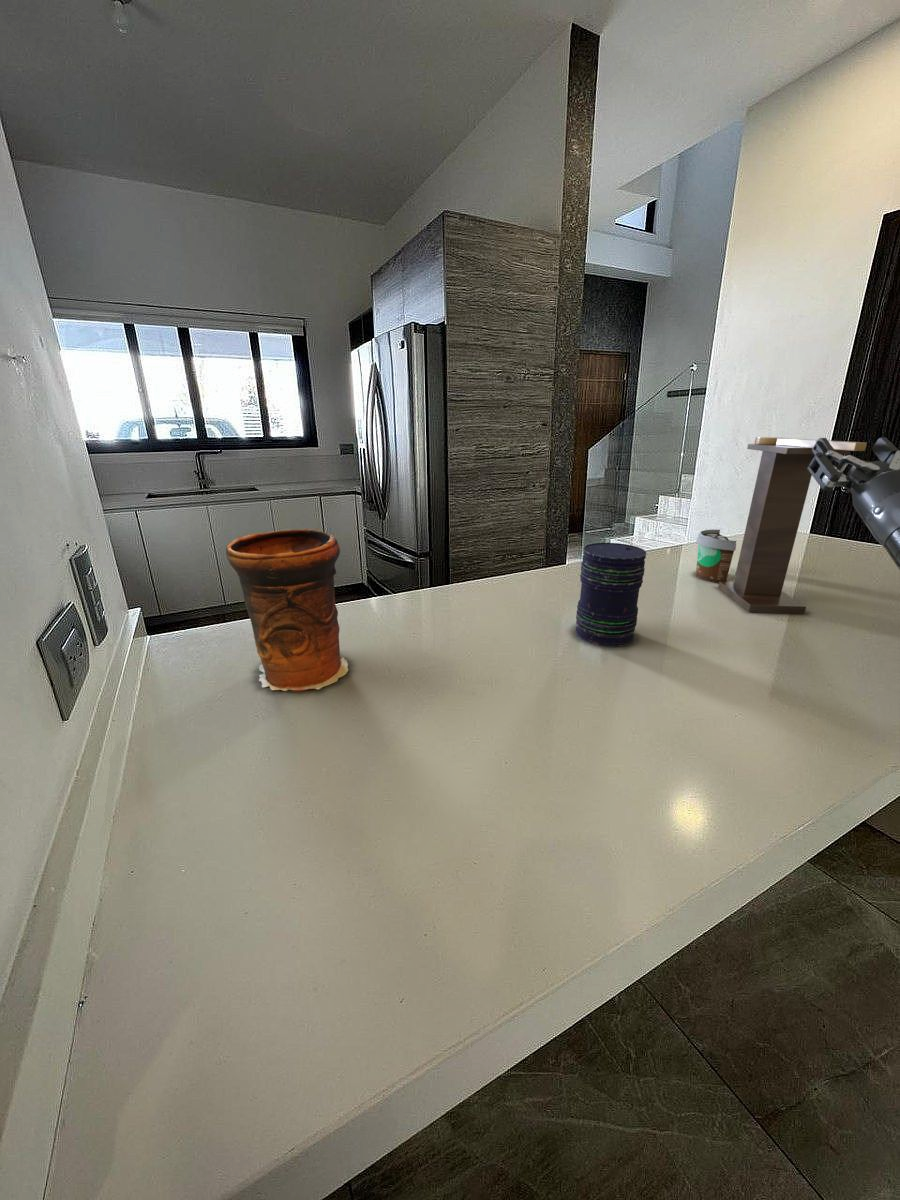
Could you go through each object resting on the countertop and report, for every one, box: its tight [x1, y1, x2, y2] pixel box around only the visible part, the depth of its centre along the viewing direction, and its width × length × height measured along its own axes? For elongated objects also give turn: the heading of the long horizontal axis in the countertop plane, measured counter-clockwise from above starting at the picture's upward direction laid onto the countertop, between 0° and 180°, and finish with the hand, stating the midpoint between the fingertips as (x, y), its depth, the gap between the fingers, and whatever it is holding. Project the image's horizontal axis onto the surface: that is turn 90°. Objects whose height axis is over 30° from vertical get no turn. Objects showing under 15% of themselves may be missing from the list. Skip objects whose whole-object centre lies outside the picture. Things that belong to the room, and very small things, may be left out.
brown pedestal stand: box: [717, 443, 851, 615], centre depth 92 cm, size 14×10×30 cm
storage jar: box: [574, 542, 647, 648], centre depth 80 cm, size 10×10×15 cm
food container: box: [695, 529, 737, 584], centre depth 110 cm, size 12×6×10 cm, turn 168°
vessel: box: [225, 528, 349, 692], centre depth 67 cm, size 14×14×20 cm
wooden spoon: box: [754, 436, 868, 452], centre depth 84 cm, size 22×5×1 cm, turn 4°
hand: (848, 442), depth 74 cm, fingers open, 8 cm apart
